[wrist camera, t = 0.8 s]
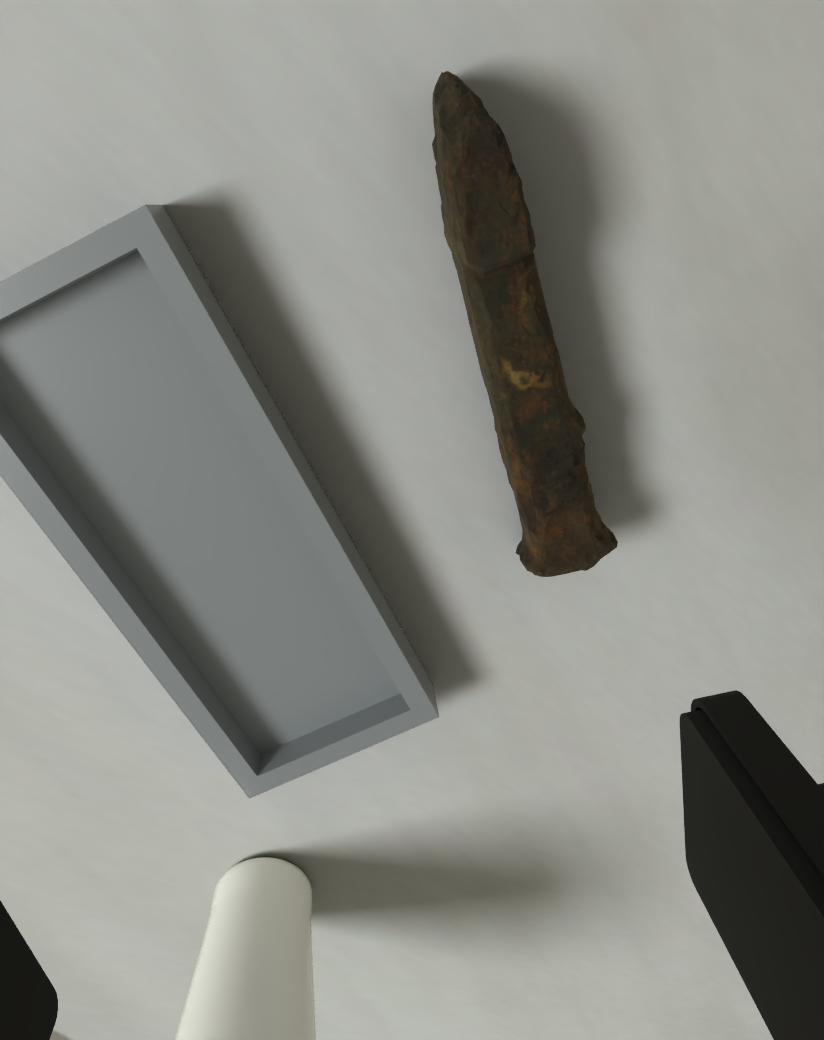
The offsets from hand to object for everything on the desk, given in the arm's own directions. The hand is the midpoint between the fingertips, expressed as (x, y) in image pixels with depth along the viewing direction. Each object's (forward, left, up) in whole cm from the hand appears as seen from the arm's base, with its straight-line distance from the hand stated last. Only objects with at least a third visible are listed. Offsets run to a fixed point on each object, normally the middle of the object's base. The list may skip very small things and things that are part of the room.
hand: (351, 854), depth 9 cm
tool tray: (+7, +2, -22) cm, 23 cm away
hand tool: (-7, 0, -23) cm, 24 cm away
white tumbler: (+16, +22, -22) cm, 36 cm away
